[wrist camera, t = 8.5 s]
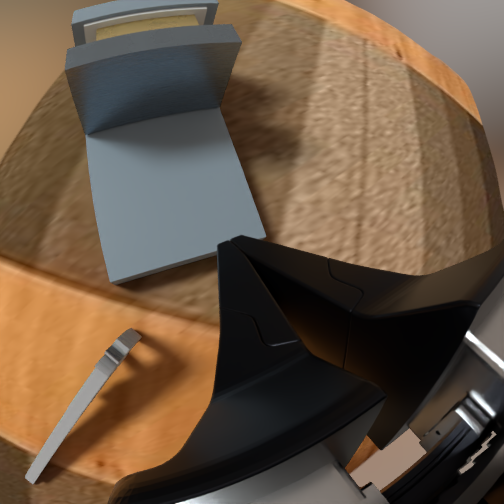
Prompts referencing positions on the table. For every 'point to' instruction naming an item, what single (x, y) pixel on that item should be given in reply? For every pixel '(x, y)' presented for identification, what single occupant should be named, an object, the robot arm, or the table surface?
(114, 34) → the pale yellow wooden block
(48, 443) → the caliper
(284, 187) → the table surface
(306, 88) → the table surface
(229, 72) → the sliding jaw
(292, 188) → the table surface
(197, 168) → the vise
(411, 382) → the robot arm
